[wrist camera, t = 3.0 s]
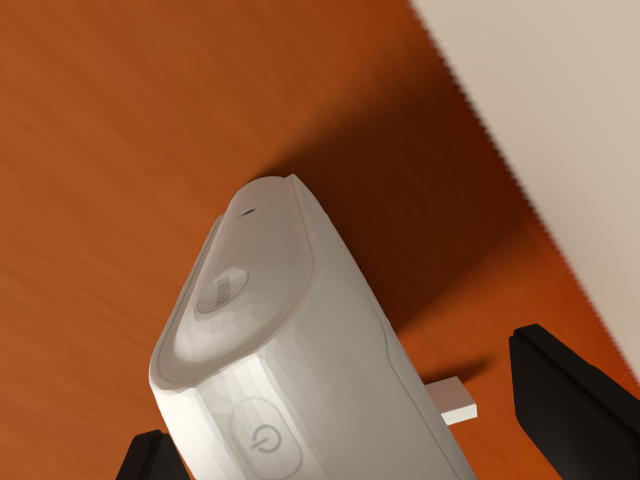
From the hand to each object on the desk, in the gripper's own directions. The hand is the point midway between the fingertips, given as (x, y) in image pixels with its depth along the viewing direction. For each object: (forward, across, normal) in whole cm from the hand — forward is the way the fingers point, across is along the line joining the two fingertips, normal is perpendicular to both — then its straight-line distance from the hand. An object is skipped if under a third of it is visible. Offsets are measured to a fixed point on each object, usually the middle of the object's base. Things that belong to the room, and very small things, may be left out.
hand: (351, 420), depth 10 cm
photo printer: (+8, 0, -1) cm, 8 cm away
